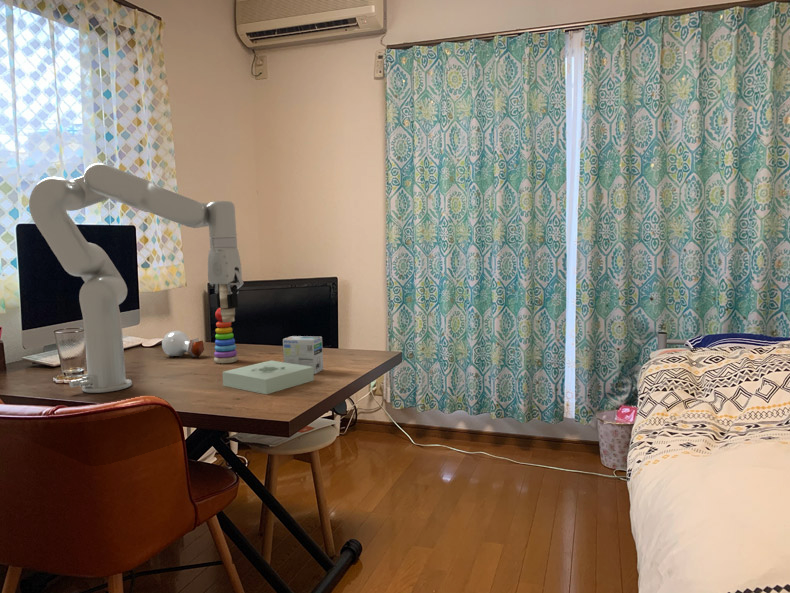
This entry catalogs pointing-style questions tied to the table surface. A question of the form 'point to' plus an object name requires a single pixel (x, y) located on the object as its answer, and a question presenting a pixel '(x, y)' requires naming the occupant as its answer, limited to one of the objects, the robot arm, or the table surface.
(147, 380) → the table surface
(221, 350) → the stacking toy
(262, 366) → the board
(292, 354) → the light bulb box
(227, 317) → the peg
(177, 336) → the potion bottle
